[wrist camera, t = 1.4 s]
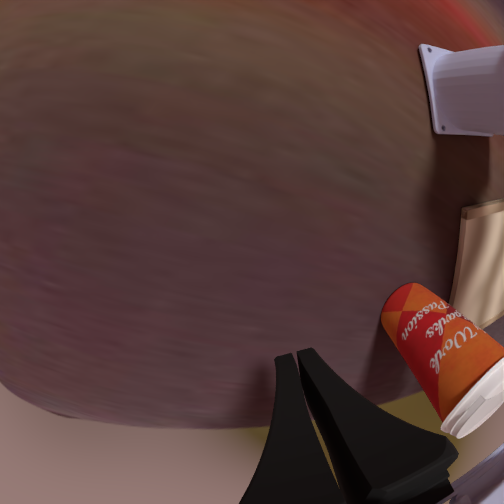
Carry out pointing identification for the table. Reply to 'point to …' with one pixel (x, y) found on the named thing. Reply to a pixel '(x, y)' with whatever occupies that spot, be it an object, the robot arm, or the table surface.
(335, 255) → the table surface
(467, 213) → the birch board
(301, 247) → the table surface
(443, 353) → the paper cup
